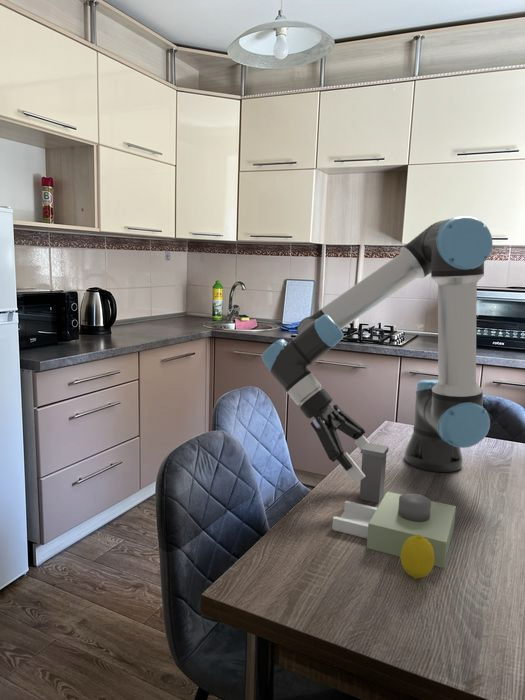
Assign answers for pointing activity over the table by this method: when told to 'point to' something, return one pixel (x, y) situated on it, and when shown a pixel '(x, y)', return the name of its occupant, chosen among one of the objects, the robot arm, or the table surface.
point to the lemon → (417, 556)
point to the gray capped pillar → (373, 472)
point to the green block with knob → (400, 523)
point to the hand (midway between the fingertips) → (368, 469)
